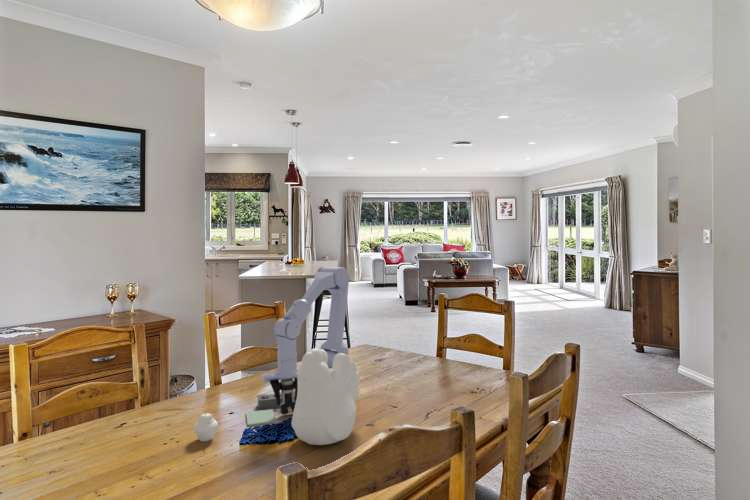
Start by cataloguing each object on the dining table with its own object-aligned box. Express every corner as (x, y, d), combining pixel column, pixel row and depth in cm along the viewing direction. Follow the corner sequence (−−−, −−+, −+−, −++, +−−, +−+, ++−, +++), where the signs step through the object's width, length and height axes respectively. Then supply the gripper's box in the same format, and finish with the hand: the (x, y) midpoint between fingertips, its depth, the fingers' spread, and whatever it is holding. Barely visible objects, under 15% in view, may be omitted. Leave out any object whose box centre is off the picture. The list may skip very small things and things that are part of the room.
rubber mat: (272, 410, 145) (272, 408, 145) (276, 422, 135) (276, 420, 135) (246, 413, 143) (246, 412, 143) (247, 426, 133) (247, 424, 133)
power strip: (313, 398, 156) (312, 387, 156) (315, 403, 151) (315, 392, 151) (257, 404, 150) (257, 393, 150) (259, 410, 146) (258, 398, 146)
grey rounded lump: (195, 445, 121) (194, 419, 121) (192, 437, 126) (192, 411, 126) (219, 441, 124) (219, 414, 123) (216, 432, 129) (216, 407, 129)
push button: (278, 418, 137) (277, 384, 137) (273, 412, 142) (271, 380, 142) (299, 413, 141) (298, 380, 140) (293, 407, 145) (292, 376, 145)
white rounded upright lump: (316, 461, 112) (315, 358, 111) (278, 441, 123) (277, 348, 122) (386, 430, 130) (385, 341, 129) (347, 415, 141) (347, 334, 140)
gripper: (307, 352, 148) (307, 395, 148) (260, 357, 142) (261, 401, 142) (313, 357, 141) (313, 402, 141) (264, 363, 135) (265, 409, 136)
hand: (287, 402), depth 141 cm, fingers closed on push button, 5 cm apart
